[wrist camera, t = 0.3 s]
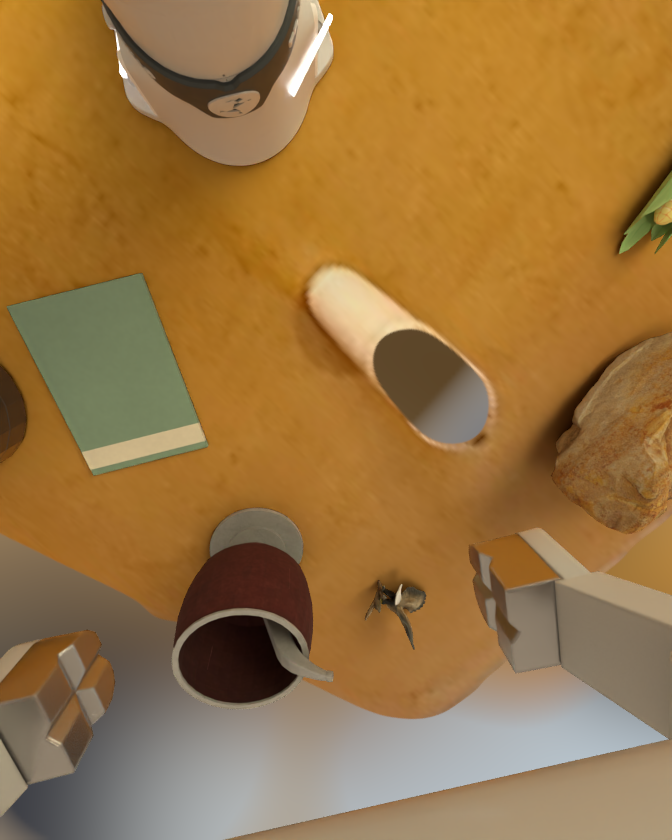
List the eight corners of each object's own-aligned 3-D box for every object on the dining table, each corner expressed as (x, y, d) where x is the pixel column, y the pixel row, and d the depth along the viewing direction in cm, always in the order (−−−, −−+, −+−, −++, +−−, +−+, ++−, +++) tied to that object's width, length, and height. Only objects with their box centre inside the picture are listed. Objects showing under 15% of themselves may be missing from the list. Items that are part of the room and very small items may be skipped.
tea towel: (9, 306, 41) (5, 306, 41) (142, 273, 41) (140, 273, 41) (95, 473, 48) (93, 476, 48) (208, 445, 48) (207, 447, 48)
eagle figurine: (354, 612, 58) (404, 644, 59) (372, 625, 51) (427, 661, 52) (379, 564, 61) (427, 596, 62) (399, 570, 54) (452, 606, 55)
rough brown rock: (572, 513, 58) (669, 592, 45) (509, 449, 52) (599, 519, 38) (704, 395, 54) (854, 442, 41) (653, 311, 48) (810, 333, 34)
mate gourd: (212, 593, 56) (171, 754, 37) (196, 507, 51) (138, 643, 32) (323, 581, 57) (337, 731, 38) (317, 496, 52) (330, 621, 34)
